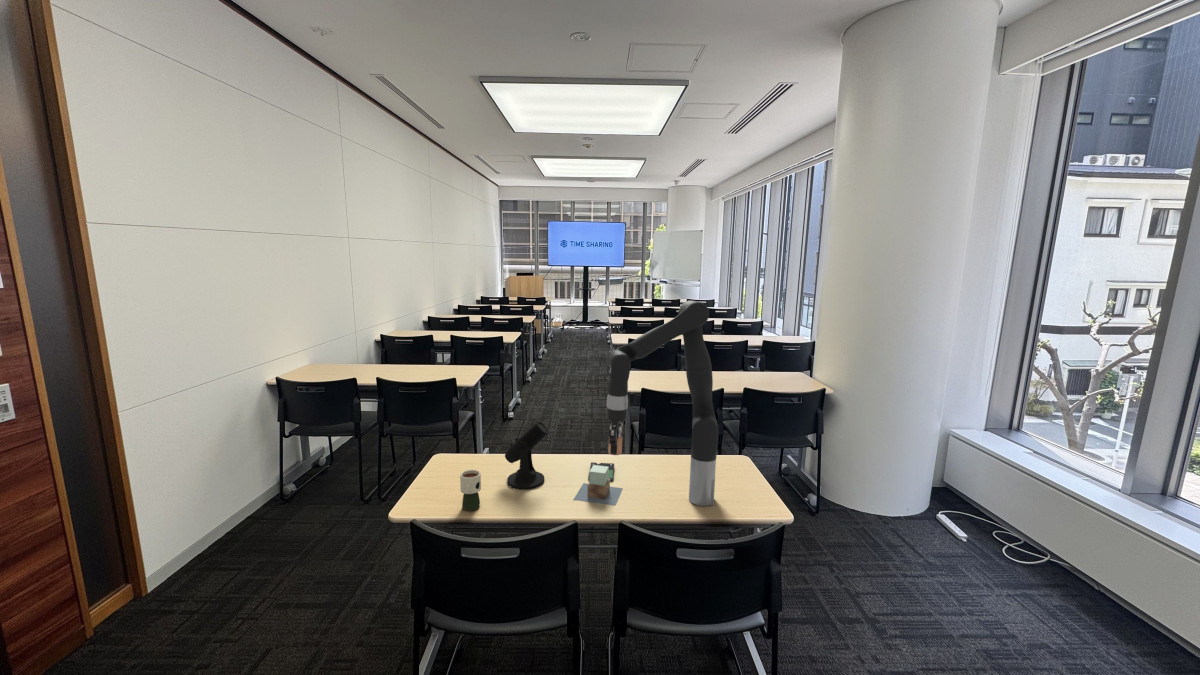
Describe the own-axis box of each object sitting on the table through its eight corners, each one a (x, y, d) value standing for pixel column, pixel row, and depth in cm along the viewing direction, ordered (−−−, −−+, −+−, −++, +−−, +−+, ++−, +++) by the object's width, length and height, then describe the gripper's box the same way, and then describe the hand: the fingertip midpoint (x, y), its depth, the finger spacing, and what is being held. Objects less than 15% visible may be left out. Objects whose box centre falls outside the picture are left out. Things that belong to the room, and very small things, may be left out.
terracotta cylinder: (622, 451, 179) (623, 435, 178) (620, 456, 174) (620, 440, 173) (609, 449, 180) (610, 433, 179) (607, 454, 175) (607, 438, 174)
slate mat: (622, 490, 190) (622, 488, 189) (615, 507, 176) (615, 505, 176) (583, 485, 193) (583, 483, 193) (573, 501, 180) (573, 499, 180)
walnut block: (609, 490, 187) (610, 478, 186) (605, 499, 180) (605, 486, 180) (592, 488, 189) (592, 476, 188) (587, 496, 182) (587, 484, 181)
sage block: (608, 479, 186) (608, 466, 185) (604, 486, 180) (605, 473, 179) (593, 477, 187) (593, 464, 187) (589, 483, 182) (589, 471, 181)
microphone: (545, 490, 188) (545, 428, 184) (501, 489, 189) (500, 427, 185) (550, 473, 203) (550, 416, 199) (509, 472, 203) (508, 415, 199)
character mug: (478, 515, 169) (477, 480, 167) (457, 515, 169) (456, 480, 167) (483, 500, 180) (483, 467, 178) (464, 500, 179) (463, 467, 177)
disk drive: (590, 468, 210) (588, 483, 196) (590, 462, 210) (588, 476, 195) (614, 469, 210) (613, 484, 195) (614, 463, 210) (613, 477, 195)
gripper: (623, 413, 166) (621, 460, 169) (630, 401, 180) (628, 445, 183) (602, 411, 168) (600, 457, 171) (610, 399, 182) (609, 443, 185)
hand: (615, 451), depth 177 cm, fingers closed on terracotta cylinder, 4 cm apart
